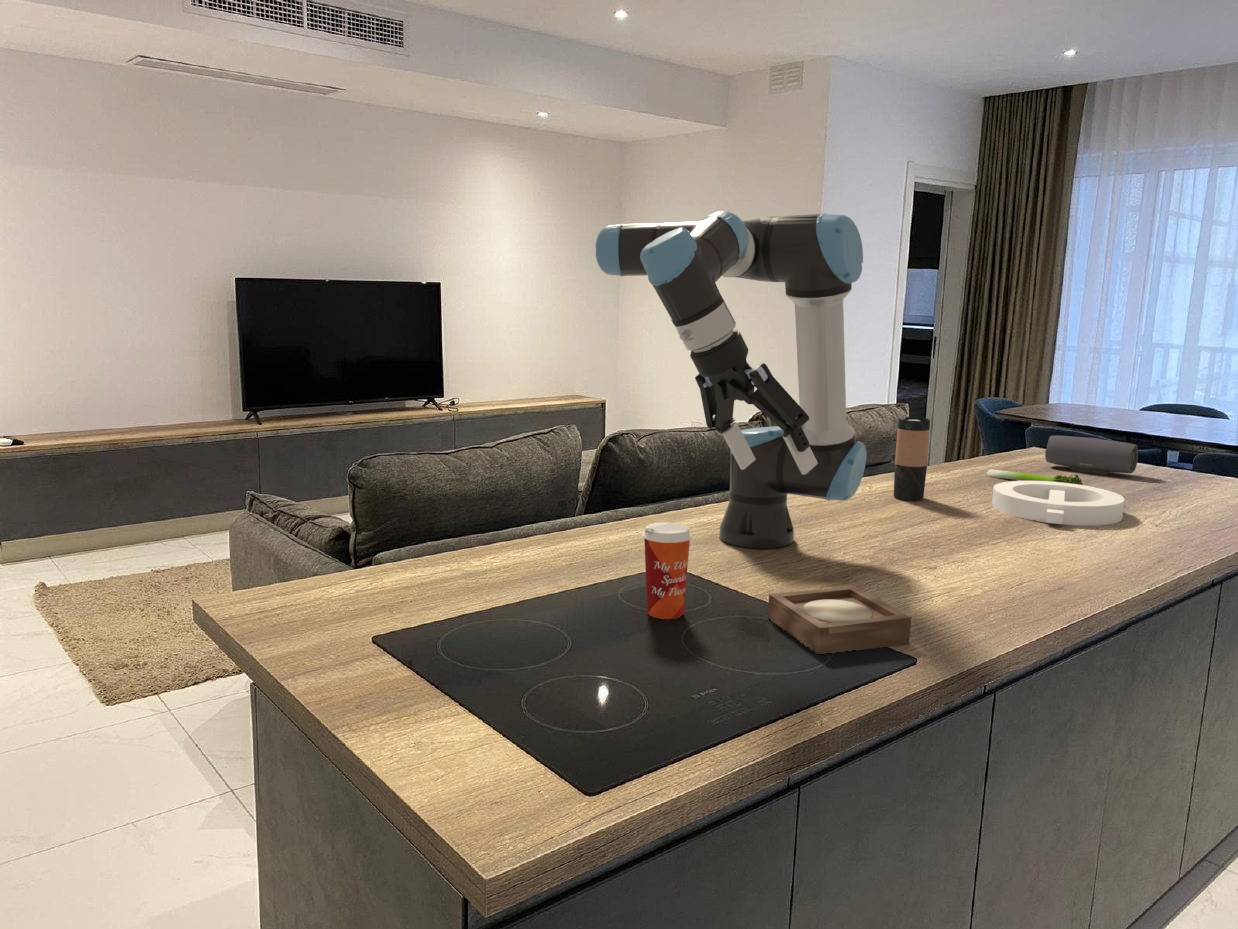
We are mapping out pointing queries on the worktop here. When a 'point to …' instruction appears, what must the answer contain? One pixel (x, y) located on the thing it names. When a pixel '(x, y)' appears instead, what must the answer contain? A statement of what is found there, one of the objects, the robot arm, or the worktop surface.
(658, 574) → the paper cup
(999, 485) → the white circle with bar
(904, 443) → the travel mug
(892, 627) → the wooden coaster holder
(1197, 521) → the worktop surface
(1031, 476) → the leek
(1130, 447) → the bluetooth speaker
